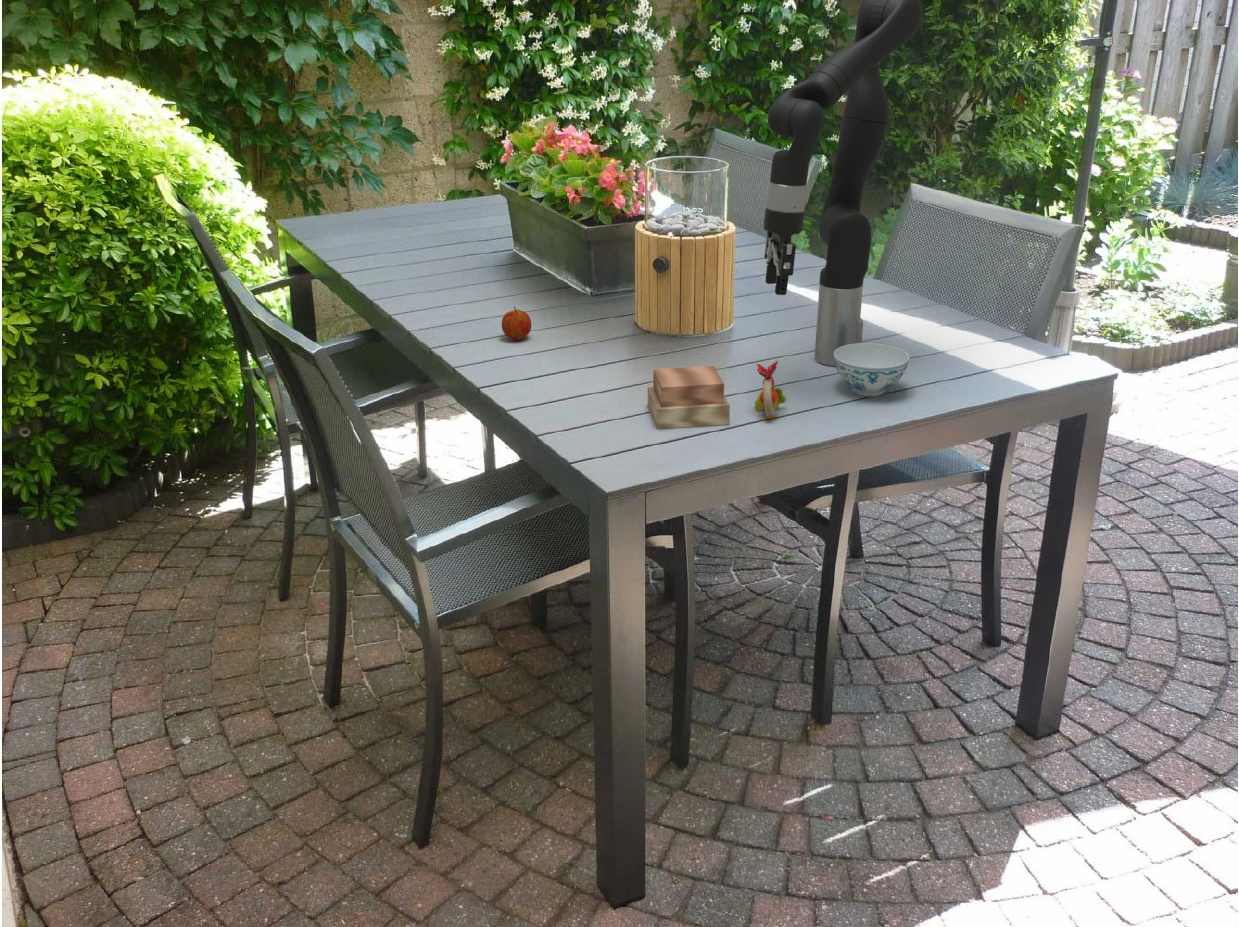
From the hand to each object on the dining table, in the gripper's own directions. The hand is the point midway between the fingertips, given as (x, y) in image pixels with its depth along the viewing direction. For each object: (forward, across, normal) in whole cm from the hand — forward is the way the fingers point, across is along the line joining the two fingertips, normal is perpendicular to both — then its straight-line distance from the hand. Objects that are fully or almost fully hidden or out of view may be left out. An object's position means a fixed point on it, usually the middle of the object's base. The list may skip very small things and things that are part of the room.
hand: (775, 288), depth 221 cm
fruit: (+25, +40, +50) cm, 68 cm away
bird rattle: (+22, -13, +2) cm, 25 cm away
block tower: (+23, -11, +18) cm, 31 cm away
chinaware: (+20, -3, -21) cm, 29 cm away
